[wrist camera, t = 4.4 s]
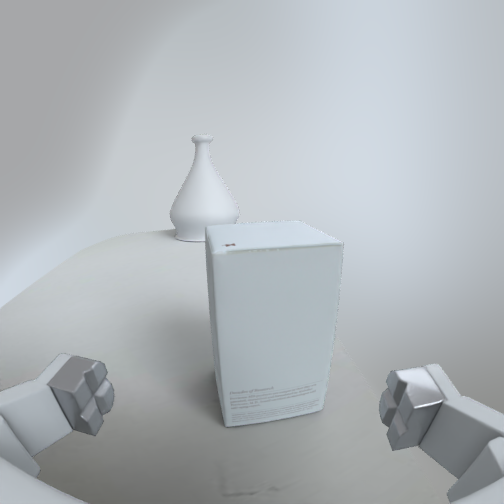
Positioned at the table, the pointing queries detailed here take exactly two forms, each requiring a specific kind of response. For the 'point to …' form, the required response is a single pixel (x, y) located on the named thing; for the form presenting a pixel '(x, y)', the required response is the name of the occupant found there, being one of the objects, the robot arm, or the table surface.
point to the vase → (202, 197)
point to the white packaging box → (272, 317)
